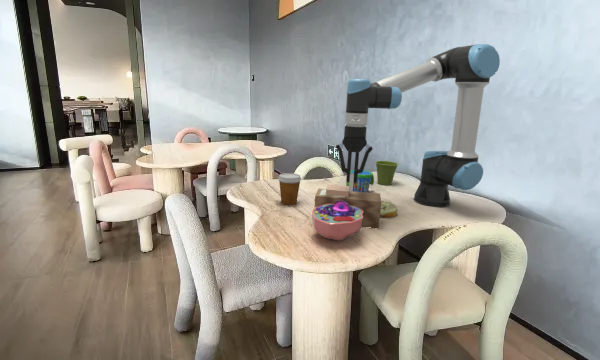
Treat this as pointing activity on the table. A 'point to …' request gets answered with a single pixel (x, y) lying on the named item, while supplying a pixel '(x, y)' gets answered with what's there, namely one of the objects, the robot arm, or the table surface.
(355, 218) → the cell model
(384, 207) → the decorated donut
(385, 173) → the plant pot
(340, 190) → the tile
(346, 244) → the table surface
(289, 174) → the disposable coffee cup
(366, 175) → the snack cup
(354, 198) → the block
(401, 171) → the table surface
